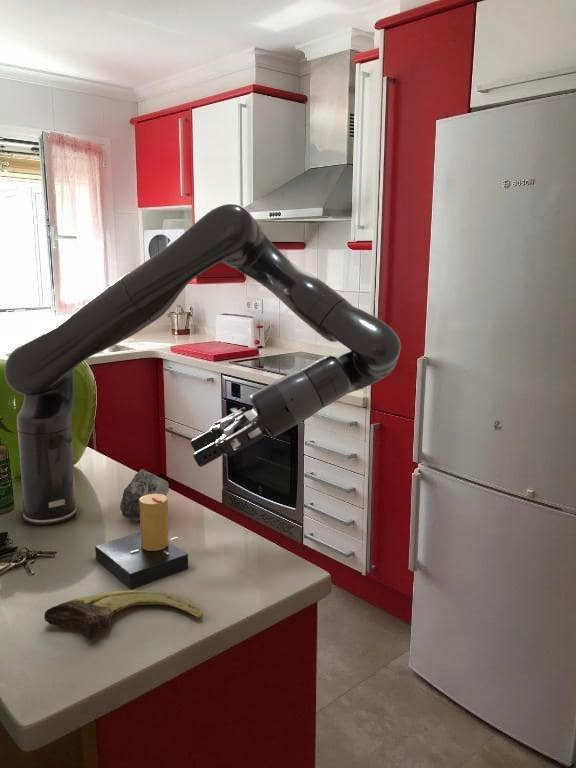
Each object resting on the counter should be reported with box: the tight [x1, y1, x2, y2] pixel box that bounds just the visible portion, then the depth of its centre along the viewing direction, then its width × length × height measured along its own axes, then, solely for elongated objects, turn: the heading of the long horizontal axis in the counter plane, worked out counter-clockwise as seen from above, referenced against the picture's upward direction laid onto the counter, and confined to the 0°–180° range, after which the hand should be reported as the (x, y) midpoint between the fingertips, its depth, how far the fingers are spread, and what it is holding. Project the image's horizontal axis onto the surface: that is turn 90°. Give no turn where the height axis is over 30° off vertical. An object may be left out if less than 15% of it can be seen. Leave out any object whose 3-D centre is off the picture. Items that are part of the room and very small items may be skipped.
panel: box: [94, 531, 189, 590], centre depth 102 cm, size 12×12×3 cm
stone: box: [119, 468, 170, 521], centre depth 119 cm, size 10×10×10 cm
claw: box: [43, 589, 204, 640], centre depth 87 cm, size 20×10×3 cm, turn 113°
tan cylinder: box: [139, 494, 170, 551], centre depth 102 cm, size 4×4×8 cm
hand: (194, 454), depth 97 cm, fingers open, 8 cm apart
